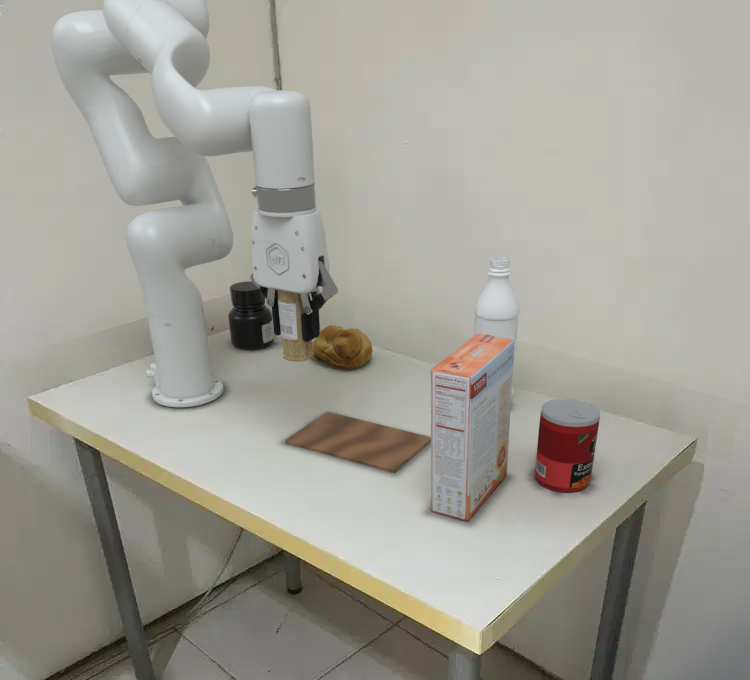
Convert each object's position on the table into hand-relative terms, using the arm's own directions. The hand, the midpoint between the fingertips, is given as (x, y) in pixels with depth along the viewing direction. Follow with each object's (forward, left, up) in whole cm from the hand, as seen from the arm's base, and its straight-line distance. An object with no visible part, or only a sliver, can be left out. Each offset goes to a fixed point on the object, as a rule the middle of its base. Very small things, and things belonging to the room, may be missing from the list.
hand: (296, 334), depth 109 cm
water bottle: (+18, +29, -19) cm, 40 cm away
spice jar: (0, 0, -4) cm, 4 cm away
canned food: (+37, +11, -19) cm, 43 cm away
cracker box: (+27, +1, -19) cm, 33 cm away
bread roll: (-16, +34, -19) cm, 43 cm away
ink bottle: (-38, +34, -19) cm, 55 cm away
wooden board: (+5, +7, -19) cm, 21 cm away
